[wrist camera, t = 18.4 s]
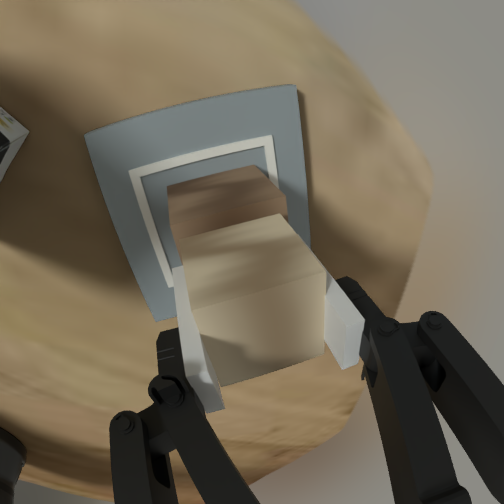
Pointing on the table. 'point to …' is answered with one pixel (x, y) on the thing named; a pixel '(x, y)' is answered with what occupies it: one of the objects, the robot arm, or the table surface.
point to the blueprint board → (193, 170)
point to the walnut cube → (222, 202)
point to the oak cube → (255, 297)
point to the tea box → (9, 140)
